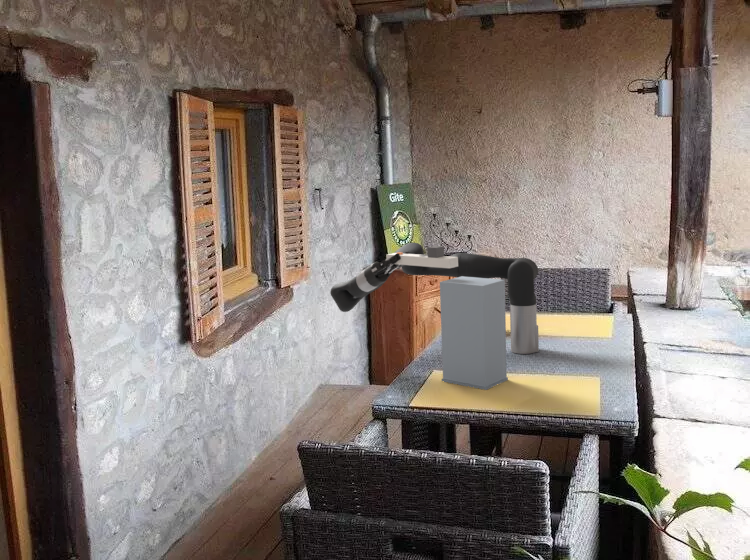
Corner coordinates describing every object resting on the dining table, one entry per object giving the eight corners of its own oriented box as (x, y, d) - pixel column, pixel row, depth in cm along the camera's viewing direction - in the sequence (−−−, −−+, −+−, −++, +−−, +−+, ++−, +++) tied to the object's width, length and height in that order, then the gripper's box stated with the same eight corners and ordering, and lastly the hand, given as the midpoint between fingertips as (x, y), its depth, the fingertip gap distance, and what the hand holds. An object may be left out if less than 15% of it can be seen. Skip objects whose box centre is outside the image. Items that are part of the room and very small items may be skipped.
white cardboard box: (386, 263, 258) (385, 245, 257) (395, 261, 261) (394, 243, 260) (449, 268, 241) (449, 248, 240) (458, 266, 244) (457, 246, 243)
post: (441, 381, 245) (438, 282, 239) (464, 371, 254) (461, 276, 249) (485, 390, 234) (483, 286, 228) (508, 379, 243) (506, 279, 238)
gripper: (389, 283, 271) (422, 262, 260) (362, 290, 260) (395, 268, 249) (381, 264, 272) (412, 242, 261) (353, 270, 262) (385, 247, 250)
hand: (403, 255), depth 255 cm, fingers closed on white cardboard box, 4 cm apart
